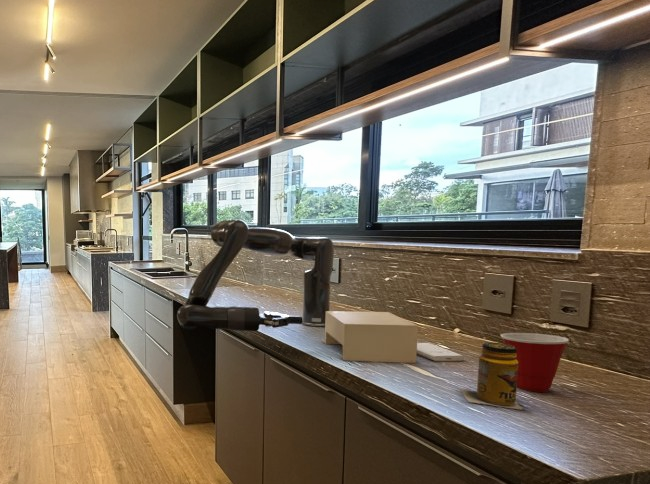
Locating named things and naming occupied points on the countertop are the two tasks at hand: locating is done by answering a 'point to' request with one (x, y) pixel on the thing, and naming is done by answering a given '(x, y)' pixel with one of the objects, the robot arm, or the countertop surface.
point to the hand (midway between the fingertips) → (301, 319)
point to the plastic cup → (536, 358)
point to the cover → (372, 336)
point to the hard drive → (437, 353)
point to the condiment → (496, 376)
